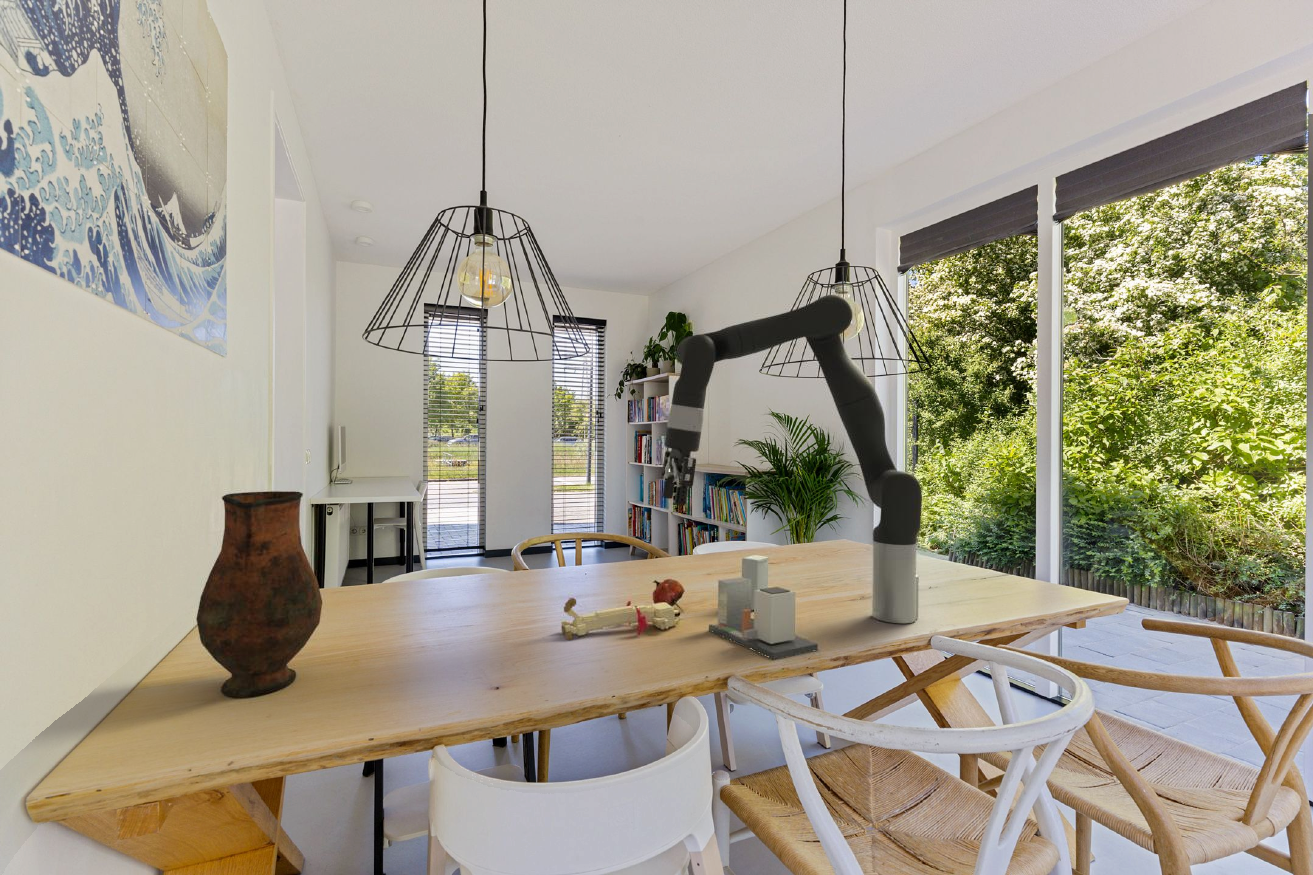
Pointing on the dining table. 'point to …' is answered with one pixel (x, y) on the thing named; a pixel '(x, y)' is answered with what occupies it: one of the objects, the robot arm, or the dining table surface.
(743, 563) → the skincare box
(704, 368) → the robot arm
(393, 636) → the dining table surface
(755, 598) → the dark-topped white block
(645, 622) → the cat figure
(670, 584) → the pomegranate
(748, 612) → the peak pointer
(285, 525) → the brown clay vase
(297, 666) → the dining table surface
